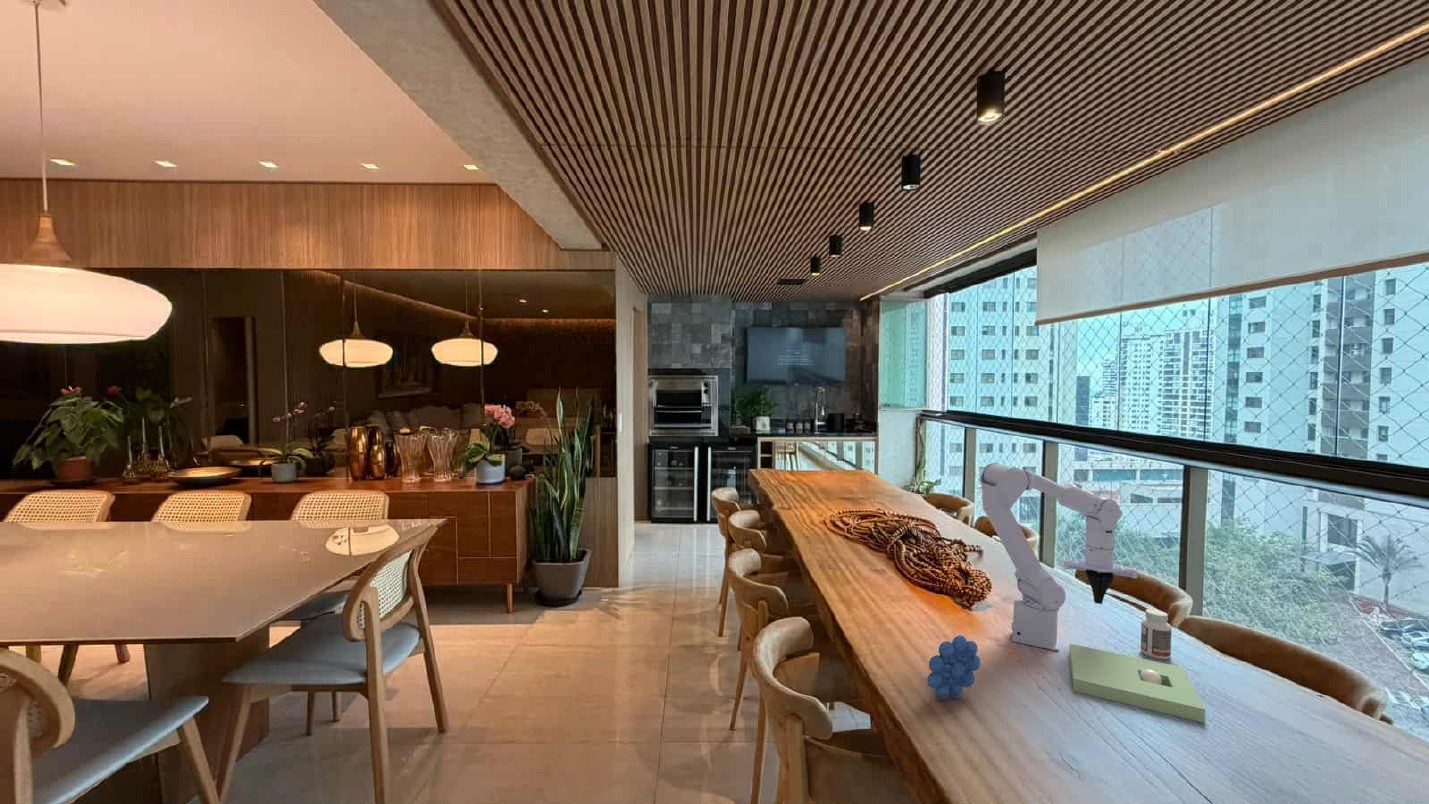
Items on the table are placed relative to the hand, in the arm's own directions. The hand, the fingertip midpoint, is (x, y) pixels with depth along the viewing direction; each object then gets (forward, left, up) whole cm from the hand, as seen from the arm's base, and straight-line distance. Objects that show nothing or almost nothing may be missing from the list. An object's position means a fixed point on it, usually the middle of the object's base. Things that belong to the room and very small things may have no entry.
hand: (1097, 602), depth 132 cm
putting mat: (+4, -21, -9) cm, 23 cm away
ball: (+8, -20, -8) cm, 23 cm away
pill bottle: (+11, -1, -10) cm, 15 cm away
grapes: (-27, -45, -10) cm, 53 cm away
